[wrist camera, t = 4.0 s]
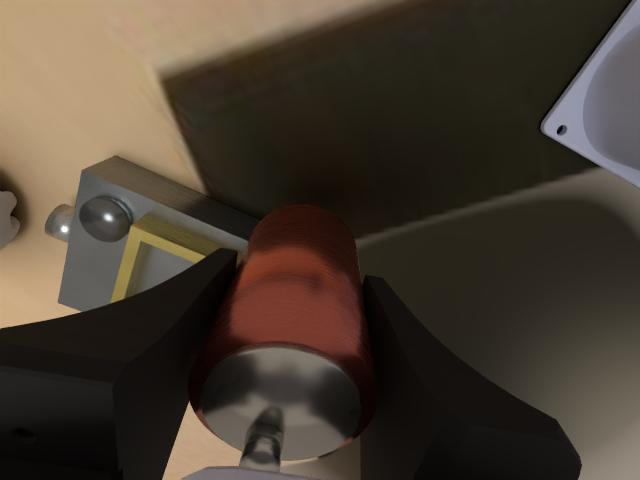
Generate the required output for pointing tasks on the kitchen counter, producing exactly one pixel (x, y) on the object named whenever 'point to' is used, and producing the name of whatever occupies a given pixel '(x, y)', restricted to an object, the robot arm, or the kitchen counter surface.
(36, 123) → the kitchen counter surface
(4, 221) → the bottle
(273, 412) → the red metal cylinder
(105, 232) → the grey socket block
